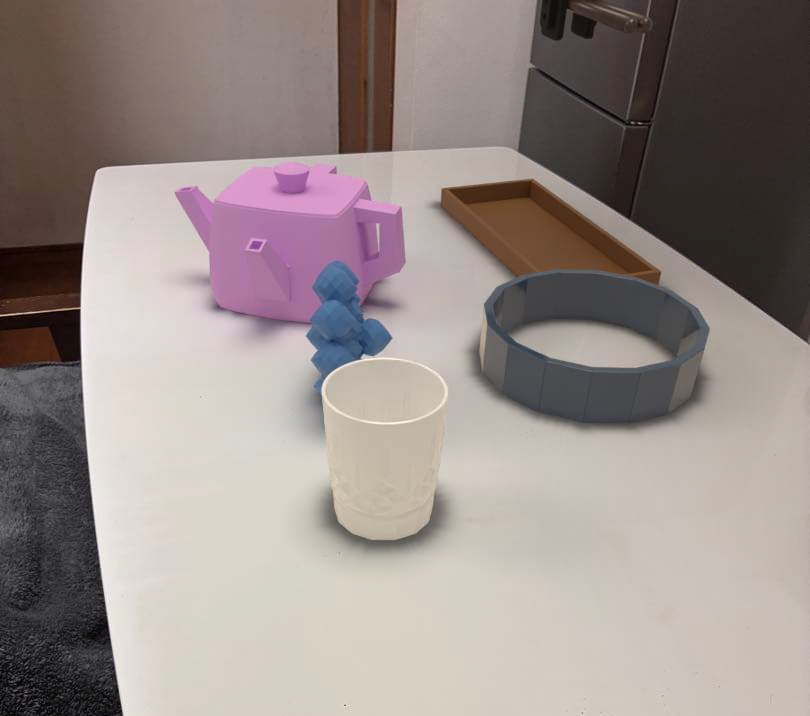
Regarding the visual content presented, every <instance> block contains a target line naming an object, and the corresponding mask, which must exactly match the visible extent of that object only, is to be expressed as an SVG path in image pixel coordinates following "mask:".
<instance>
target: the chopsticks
mask: <svg viewBox="0 0 810 716" xmlns="http://www.w3.org/2000/svg"><path fill="white" fill-rule="evenodd" d="M567 11H569V12H572V13H573V12H574V13H577V14H579V15H582V16H584V17H587V18H589V19H592V20H594V21H597V23H598V24H601V25H604V26H607V27H609V28H612V29H614V30H616V31H620V32H622V33H624V34H627V35H632V34H634V33H635V32H638V33H641V34H648V33H650V31H651V30H652V27H653V21H652V19H651V18H650V17H649V16H646V15H643V14H640V13H637V12H635V11H632V10H629V9H627V8H624V7H622V6H619V5H616V4H613V3H610V2H607V1H604V0H568V1H567Z"/></svg>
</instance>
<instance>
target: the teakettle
mask: <svg viewBox="0 0 810 716" xmlns="http://www.w3.org/2000/svg"><path fill="white" fill-rule="evenodd" d="M337 170H338V169H337V165H329V164H321V163H314V164H313V165H312V166H308V165H307V164H304V163H301V162H295V161H287V162H282V163H279V164H276V165H275V166H273V167H270V166H254V167H253V166H252V167H251V168H249V169H248V170H246V171H244V172H243V173H242V174H241V175H239V176H238V177H237V178H235V179H234V180H233V181H232V182H231V183H230V184H228V186H226V187H225V188H224V189H223V190H222V191H221V192H220V193H219V194H218V195H217V196H216V197H215V198H214V199H213V201H211V199H209V197H207V196H206V195H205V194H204V193H203V192H202V191H201V190H200V189H199V186H198V185H191V186H181V187H180V188H178V189H177V190H175V191H174V195H175V197H176V199H177V201H178V203H179V204H180V205H181V207H182V209H183V211H184V212H185V214H186V216H187V218H188V219H189V221H190V223H191V224H192V226H193V228H194V229H195V231H196V232H197V234H198V236H199V237H200V239H201V241H202V243H203V244H204V246H205V248H206V249H207V251H208V254H209V255H208V257H209V259H208V260H209V278H210V286H211V291H212V294H213V297H214V298H215V301H216V303H217V305H218V307H220V308H221V309H225V310H227V311H232V312H235V313H240V314H244V315H245V314H246V315H250V316H255V317H261V318H266V319H271V320H272V319H273V320H279V321H286V322H295V323H303V324H304V323H305V324H312V322H311V321H310V318H311V317H312V316H313V314H314V313H315V312H316V311H317V309H318V308H319V307H320V306H321V305H322V303H321V301H320V300H319V297H318V296H317V294H316V293H315V292H314V290H313V289H312V286H313V285H314V283H315V282H316V278H317V277H318V276H319V274H320V273H321V272H322V271H323V269H324V268H325V267H326V266H327V265H328V264H329V263H331V262H333V261H341V262H343V263H345V264H346V265H347V266H348V267H349V268H350V269H351V270H352V272H353V273H354V274H355V275H356V277H357V278H358V280H359V281H360V282H359V283H358V284H357V286H356V287H357V288H358V289H357V291H356V294H357V295H358V297H359V298H360V299H361V300H360V302H359V303H358V305H359V306H360V307H361V306H362V305H363V303H364V302H365V300H366V299H367V297H368V296H369V294H370V292H371V291H372V289H373V286H374V284H375V283H376V282H378V281H381V280H384V279H386V278H388V277H392V276H393V275H395V274H397V273H400V272H401V270H402V269H403V268H404V266H405V265H406V263H407V262H406V261H407V260H406V259H407V258H406V248H405V234H404V233H405V232H404V218H403V206H402V205H399V204H394V203H393V204H392V203H387V202H381V201H375V200H372V196H371V192H370V187H369V183H368V181H367V180H365V179H363V178H359V177H355V176H349V175H344V174H338V171H337ZM377 224H378V225H379V226H378V227H379V229H377ZM378 235H379V236H378Z"/></svg>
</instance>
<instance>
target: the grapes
mask: <svg viewBox="0 0 810 716" xmlns="http://www.w3.org/2000/svg"><path fill="white" fill-rule="evenodd" d="M359 282H360V281H359V280H358V278H357V277H356V275H355V274H354V273H353V272H352V270H351V269H350V268H349V267H348V266H347V265H346V264H345V263H343V262H341V261H333V262H331V263H329V264H328V265H327V266H326V267H325V268H324V269H323V271H322V272H321V273H320V274H319V276H318V277H317V278H316V282H315V283H314V285H313V286H312V289H313V290H314V292H315V293H316V294H317V296H318V297H319V300H320V301H321V303H322V305H321V306H320V307H319V308H318V309H317V311H316V312H315V313H314V314H313V316H312V317H311V318H310V321H311V322H312V323H311V324H312V325H313V326H311V328H310V329H309V330H308V331H307V333H306V334H305V337H306V338H307V340H308V341H309V342H310V344H311V345H312V346H313V347H314V349H315V350H317V351H316V352H315V353H314V354H313V355H312V357H311V358H310V361H311V363H312V364H313V366H314V367H315V368H316V369H317V371H319V373H320V374H321V376H320V377H319V378H318V380H316V382H315V384H314V385H313V388H314V389H315V390H316V392H317V393H318V395H320V396H321V397H322V392H321V389H322V384H323V382H324V380H325V379H326V377H327V376H328V375H329V374H330V373H331V372H332V371H334V370H335V369H337V368H339V367H341V366H343V365H345V364H347V363H350V362H353V361H357V360H362V359H363V358H362V357H363V355H365V356H368V357H375V356H377V355H379V354H380V353H381V352H383V351H384V350H385V349H386V348H387V346H388V345H390V343H391V341H392V340H393V336H392V334H391V333H390V332H389V331H388V329H387V328H386V326H384V324H383V323H381V322H380V321H379V320H378V319H375V318H370V317H368V318H366V319H365V318H364V314H363V313H364V312H365V311H364V309H363V308H362V307H361V306H359V305H358V303H359V302H360V300H361V299H360V298H359V297H358V295H357V294H356V291H357V289H358V288H357V287H356V286H357V284H358V283H359Z"/></svg>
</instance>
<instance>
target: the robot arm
mask: <svg viewBox="0 0 810 716" xmlns="http://www.w3.org/2000/svg"><path fill="white" fill-rule="evenodd" d="M567 1H568V0H541V7H540V15H539V25H540V28H541V29H540V32H541V35H542V36H544V37H546V38H548V39H550V40H552V41H556V42H557V41H561V40H563V38H564V33H565V25H566V18H567V11H568V10H567ZM571 19H572V20H571V25H570V32H571V33H572V34H573V35H576V36H578V37H581V38H583V39H584V40H590V39H591V40H592V39H593V37H594V33H595V28H596V26H597V23H598V22H597V21H594V20H592V19H589V18H587V17H584V16H582V15H579V14H577V13H574V12H572V18H571Z"/></svg>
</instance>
